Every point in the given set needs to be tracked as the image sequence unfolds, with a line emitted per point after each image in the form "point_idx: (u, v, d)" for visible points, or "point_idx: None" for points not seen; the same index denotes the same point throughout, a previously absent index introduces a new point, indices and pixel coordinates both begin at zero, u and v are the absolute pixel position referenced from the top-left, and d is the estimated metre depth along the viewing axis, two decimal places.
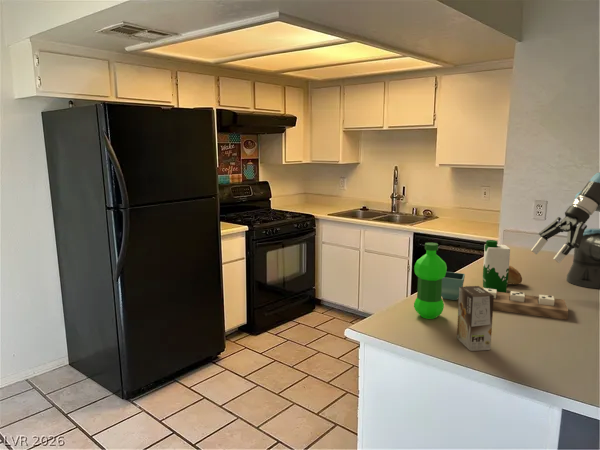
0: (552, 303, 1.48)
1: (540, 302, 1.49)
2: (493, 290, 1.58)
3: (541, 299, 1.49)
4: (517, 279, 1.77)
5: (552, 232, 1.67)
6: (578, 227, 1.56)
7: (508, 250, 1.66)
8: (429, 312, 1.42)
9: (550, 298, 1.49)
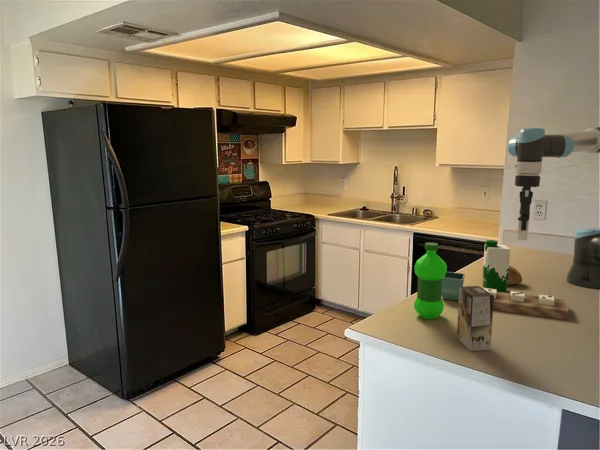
0: (552, 303, 1.48)
1: (540, 302, 1.49)
2: (493, 290, 1.58)
3: (541, 299, 1.49)
4: (517, 278, 1.77)
5: None
6: (522, 197, 1.43)
7: (508, 250, 1.66)
8: (429, 312, 1.42)
9: (550, 298, 1.49)
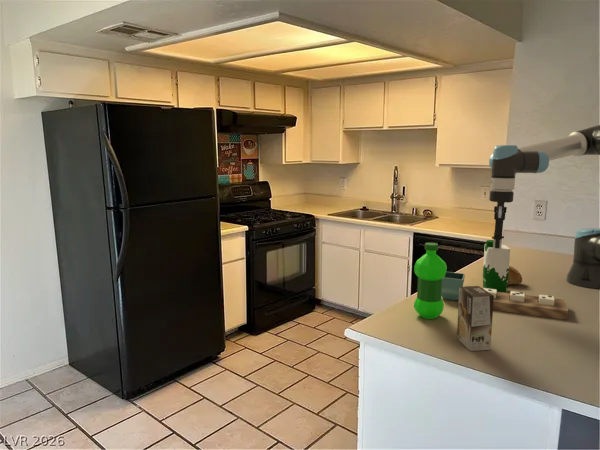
0: (552, 303, 1.48)
1: (540, 302, 1.49)
2: (493, 290, 1.58)
3: (541, 299, 1.49)
4: (517, 279, 1.77)
5: None
6: (495, 218, 1.48)
7: (508, 250, 1.66)
8: (429, 312, 1.42)
9: (550, 298, 1.49)
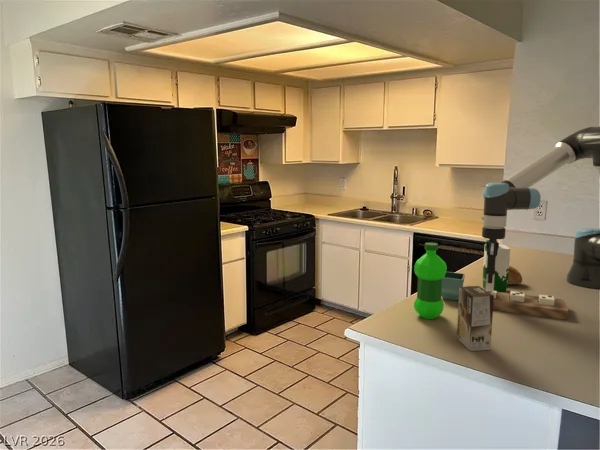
0: (552, 303, 1.48)
1: (540, 302, 1.49)
2: (493, 292, 1.58)
3: (541, 299, 1.49)
4: (517, 279, 1.77)
5: None
6: (487, 254, 1.51)
7: (508, 250, 1.66)
8: (429, 312, 1.42)
9: (550, 298, 1.49)
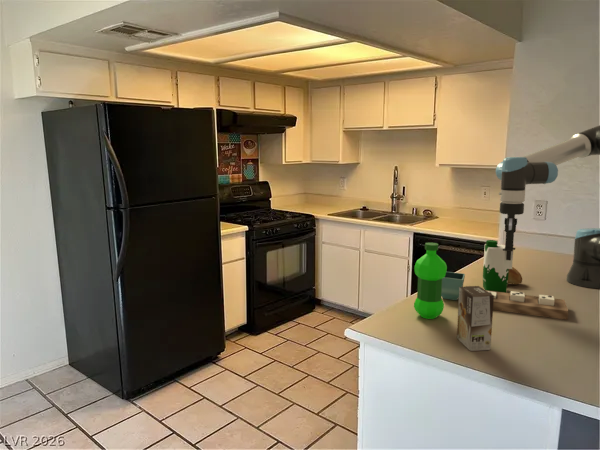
0: (552, 303, 1.48)
1: (540, 302, 1.49)
2: (493, 293, 1.58)
3: (541, 299, 1.49)
4: (517, 279, 1.77)
5: None
6: (506, 230, 1.48)
7: None
8: (429, 312, 1.42)
9: (550, 298, 1.49)
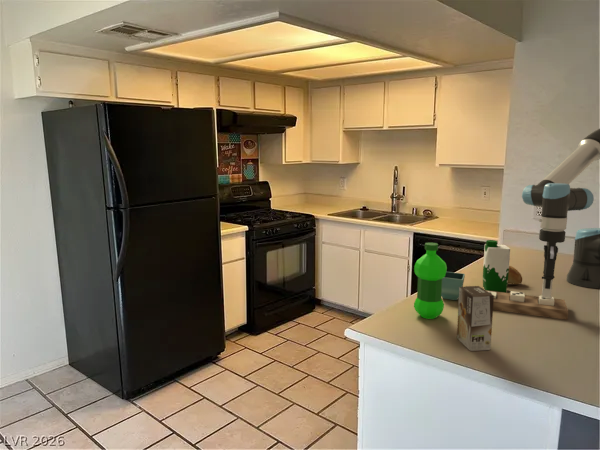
0: (552, 304, 1.48)
1: (540, 303, 1.49)
2: (493, 293, 1.58)
3: (541, 300, 1.49)
4: (518, 279, 1.77)
5: None
6: (547, 258, 1.44)
7: (508, 250, 1.66)
8: (429, 312, 1.42)
9: (550, 299, 1.49)
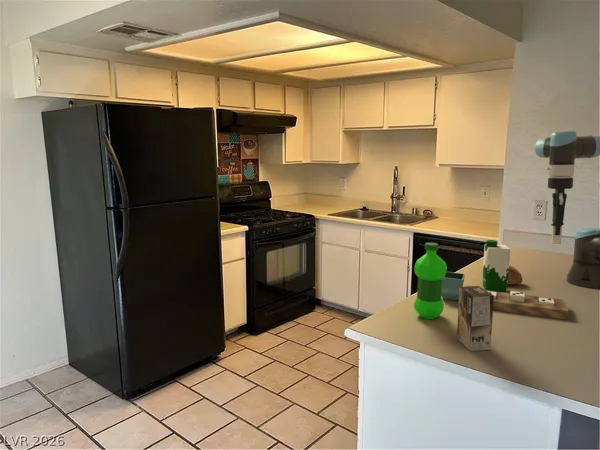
0: None
1: None
2: (493, 293, 1.58)
3: (541, 302, 1.49)
4: (518, 279, 1.77)
5: None
6: (556, 205, 1.48)
7: (508, 250, 1.66)
8: (429, 312, 1.42)
9: (550, 301, 1.49)
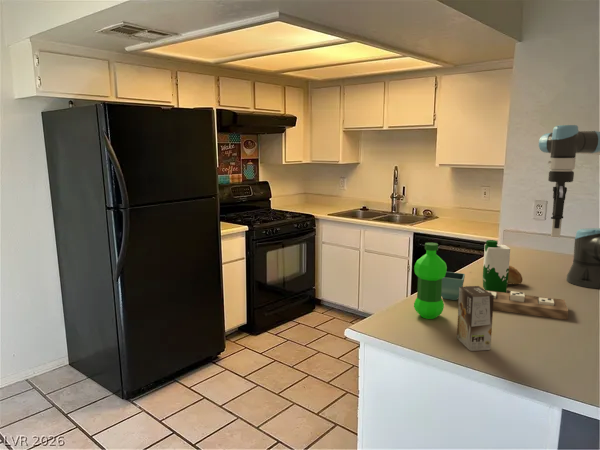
0: None
1: None
2: (493, 293, 1.58)
3: (541, 302, 1.49)
4: (518, 279, 1.77)
5: None
6: (556, 197, 1.49)
7: (508, 250, 1.66)
8: (429, 312, 1.42)
9: (550, 301, 1.49)
